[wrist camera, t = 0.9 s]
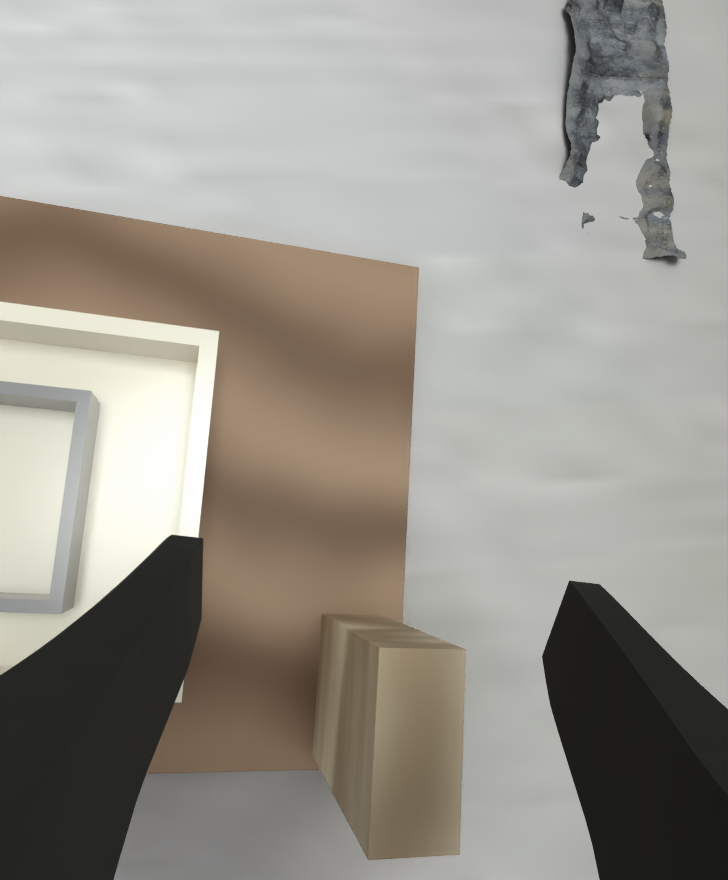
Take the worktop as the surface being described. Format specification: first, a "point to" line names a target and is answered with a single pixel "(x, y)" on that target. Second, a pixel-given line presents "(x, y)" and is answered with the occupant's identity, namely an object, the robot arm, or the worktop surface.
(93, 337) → the cream square tray
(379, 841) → the tall bronze block
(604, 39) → the driftwood
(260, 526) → the board
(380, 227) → the worktop surface
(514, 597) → the worktop surface
